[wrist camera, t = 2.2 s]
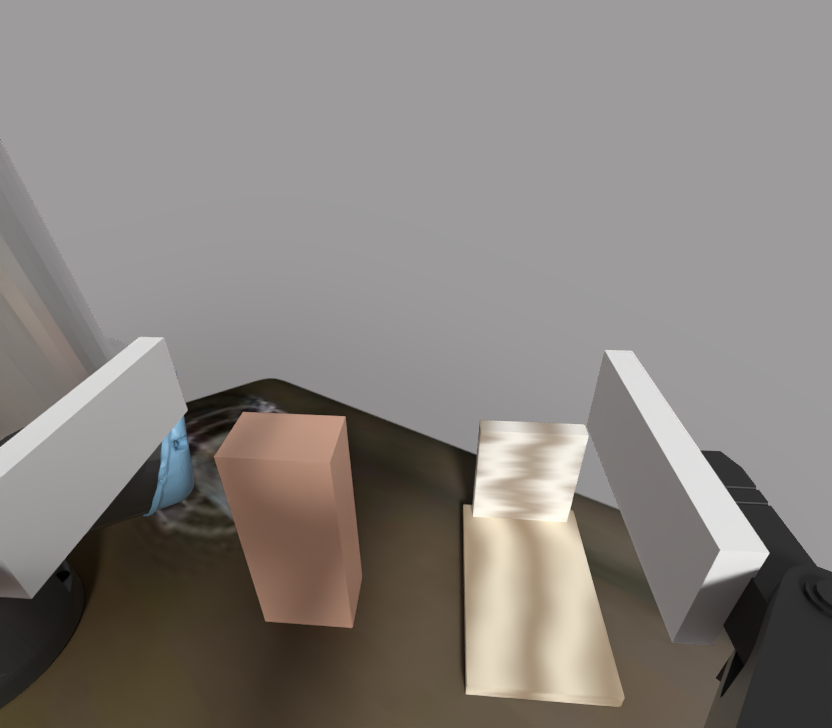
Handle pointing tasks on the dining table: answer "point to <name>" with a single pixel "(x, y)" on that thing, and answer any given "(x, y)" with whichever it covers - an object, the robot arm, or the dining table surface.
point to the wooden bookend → (531, 572)
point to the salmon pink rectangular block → (295, 514)
